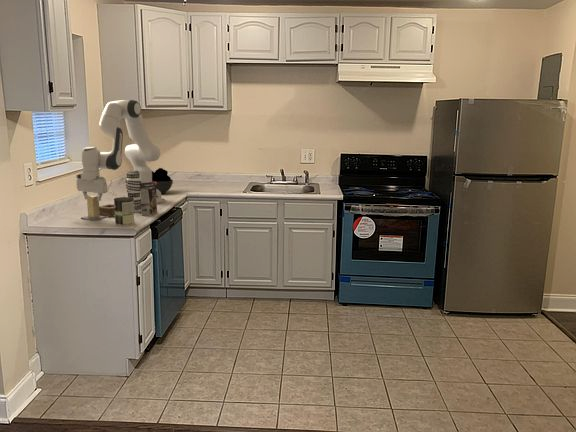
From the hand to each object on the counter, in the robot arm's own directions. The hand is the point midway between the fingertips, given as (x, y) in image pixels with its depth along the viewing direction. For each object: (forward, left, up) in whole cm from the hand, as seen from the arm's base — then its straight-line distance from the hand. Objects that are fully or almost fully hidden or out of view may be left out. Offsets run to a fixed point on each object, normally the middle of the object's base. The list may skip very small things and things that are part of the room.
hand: (92, 199), depth 290 cm
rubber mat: (0, 0, -11) cm, 11 cm away
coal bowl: (-87, -24, -11) cm, 91 cm away
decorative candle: (-28, +5, -11) cm, 30 cm away
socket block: (-12, 0, -11) cm, 16 cm away
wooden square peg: (0, 0, -10) cm, 10 cm away
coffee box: (-24, +20, -11) cm, 33 cm away
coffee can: (+3, +26, -11) cm, 28 cm away
